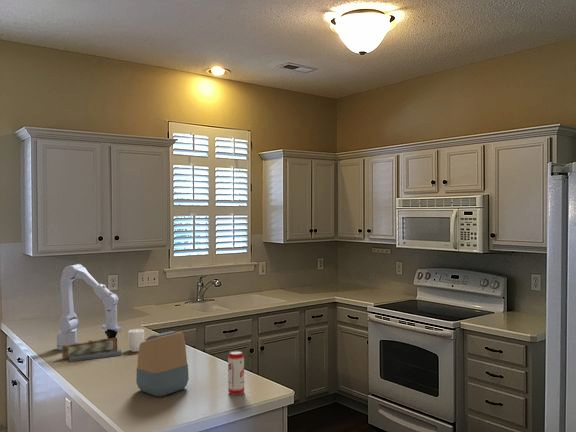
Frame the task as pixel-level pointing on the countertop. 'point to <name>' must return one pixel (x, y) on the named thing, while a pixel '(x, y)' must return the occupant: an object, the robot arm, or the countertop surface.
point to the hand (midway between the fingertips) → (111, 344)
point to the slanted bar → (95, 355)
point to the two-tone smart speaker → (162, 364)
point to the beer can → (236, 373)
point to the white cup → (135, 339)
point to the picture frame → (89, 347)
